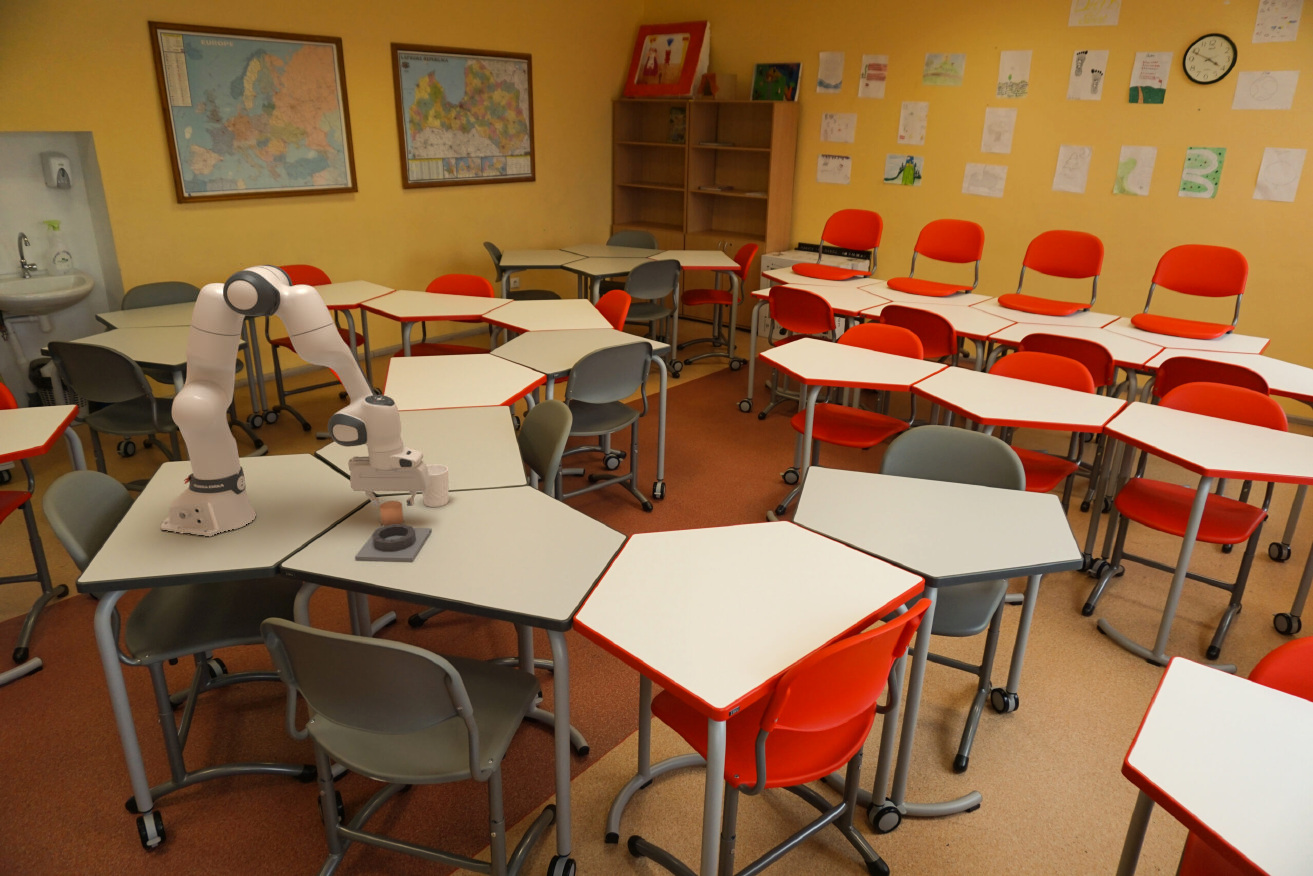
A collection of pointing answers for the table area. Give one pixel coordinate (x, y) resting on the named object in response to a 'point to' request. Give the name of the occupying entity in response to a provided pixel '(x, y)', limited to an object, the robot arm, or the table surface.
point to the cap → (391, 513)
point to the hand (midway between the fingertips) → (393, 505)
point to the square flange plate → (394, 543)
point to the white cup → (437, 486)
